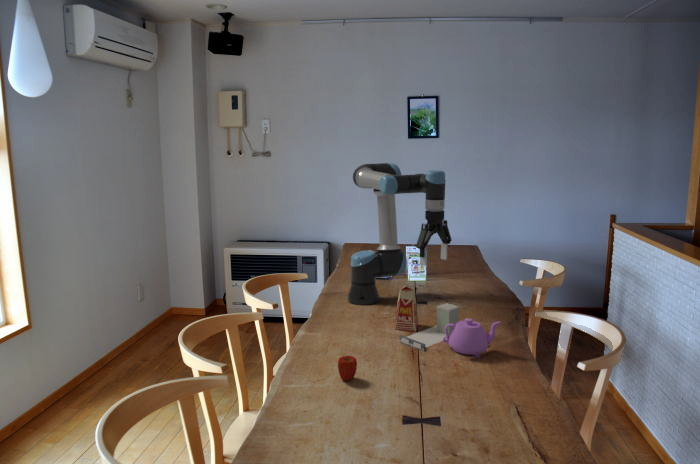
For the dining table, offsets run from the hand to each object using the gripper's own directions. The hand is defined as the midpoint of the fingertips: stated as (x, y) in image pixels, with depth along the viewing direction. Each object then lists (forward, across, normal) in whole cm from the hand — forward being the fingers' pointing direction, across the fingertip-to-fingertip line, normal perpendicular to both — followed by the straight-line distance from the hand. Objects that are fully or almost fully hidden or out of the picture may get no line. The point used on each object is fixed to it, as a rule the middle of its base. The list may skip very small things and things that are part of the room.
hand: (433, 262), depth 217 cm
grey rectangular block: (+26, -4, -10) cm, 28 cm away
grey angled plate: (+27, -12, -9) cm, 31 cm away
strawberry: (+27, -59, -11) cm, 66 cm away
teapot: (+27, -13, -27) cm, 40 cm away
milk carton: (+27, -11, +5) cm, 30 cm away
